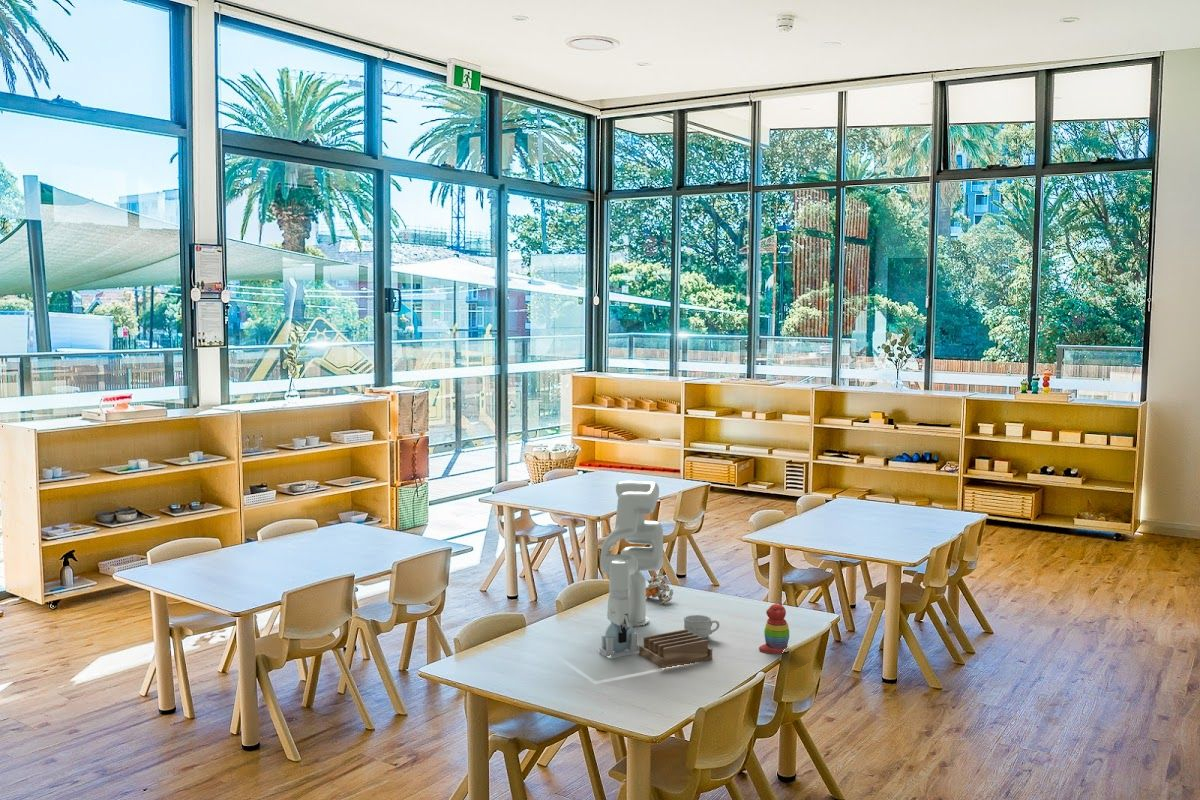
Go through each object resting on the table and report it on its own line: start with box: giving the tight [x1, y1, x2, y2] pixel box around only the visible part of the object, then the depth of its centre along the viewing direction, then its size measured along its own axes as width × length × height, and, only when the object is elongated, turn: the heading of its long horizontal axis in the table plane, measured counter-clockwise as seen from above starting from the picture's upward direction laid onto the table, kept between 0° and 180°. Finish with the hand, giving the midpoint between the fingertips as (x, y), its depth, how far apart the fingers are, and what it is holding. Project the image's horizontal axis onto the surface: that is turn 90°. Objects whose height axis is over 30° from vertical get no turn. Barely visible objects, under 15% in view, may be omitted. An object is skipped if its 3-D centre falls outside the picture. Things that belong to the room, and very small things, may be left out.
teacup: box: [683, 614, 720, 640], centre depth 400 cm, size 14×11×8 cm
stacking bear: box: [758, 602, 790, 655], centre depth 386 cm, size 11×10×18 cm
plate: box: [604, 622, 635, 652], centre depth 382 cm, size 1×12×12 cm, turn 118°
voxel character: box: [646, 572, 674, 605], centre depth 449 cm, size 11×10×15 cm
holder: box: [598, 632, 641, 659], centre depth 383 cm, size 10×15×8 cm, turn 119°
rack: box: [638, 629, 713, 668], centre depth 378 cm, size 16×22×7 cm
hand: (619, 640), depth 382 cm, fingers open, 3 cm apart
